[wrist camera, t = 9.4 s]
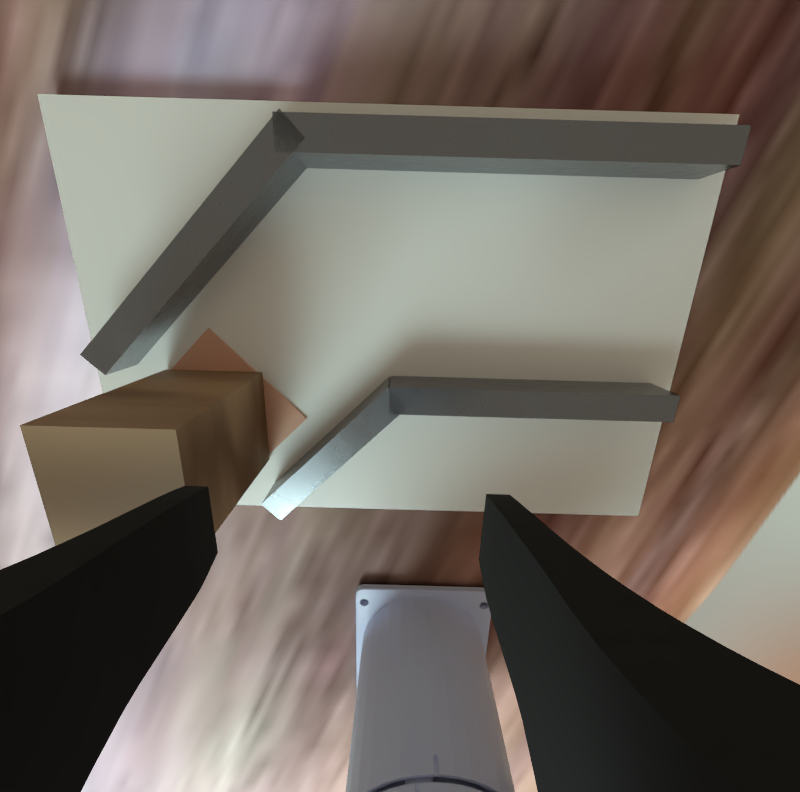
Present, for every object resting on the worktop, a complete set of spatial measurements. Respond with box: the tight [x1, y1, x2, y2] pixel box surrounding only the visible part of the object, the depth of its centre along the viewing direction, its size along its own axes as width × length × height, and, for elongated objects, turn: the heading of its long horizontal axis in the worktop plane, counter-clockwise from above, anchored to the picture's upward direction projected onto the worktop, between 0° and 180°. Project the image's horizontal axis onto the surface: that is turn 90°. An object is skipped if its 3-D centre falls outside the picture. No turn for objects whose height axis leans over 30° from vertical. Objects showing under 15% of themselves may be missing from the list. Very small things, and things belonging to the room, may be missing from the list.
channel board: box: [38, 94, 739, 516], centre depth 17 cm, size 18×27×1 cm, turn 88°
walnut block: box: [20, 369, 270, 546], centre depth 15 cm, size 4×4×7 cm
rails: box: [80, 109, 751, 520], centre depth 16 cm, size 16×25×2 cm, turn 88°
